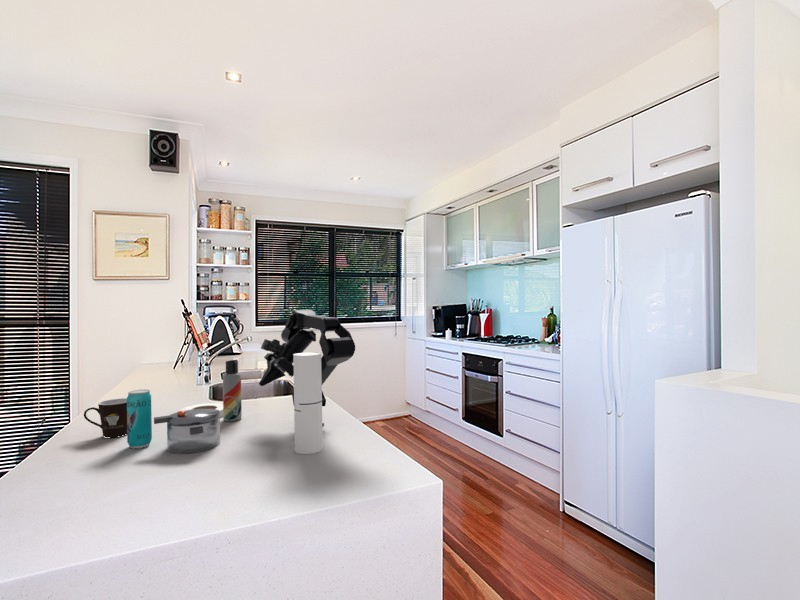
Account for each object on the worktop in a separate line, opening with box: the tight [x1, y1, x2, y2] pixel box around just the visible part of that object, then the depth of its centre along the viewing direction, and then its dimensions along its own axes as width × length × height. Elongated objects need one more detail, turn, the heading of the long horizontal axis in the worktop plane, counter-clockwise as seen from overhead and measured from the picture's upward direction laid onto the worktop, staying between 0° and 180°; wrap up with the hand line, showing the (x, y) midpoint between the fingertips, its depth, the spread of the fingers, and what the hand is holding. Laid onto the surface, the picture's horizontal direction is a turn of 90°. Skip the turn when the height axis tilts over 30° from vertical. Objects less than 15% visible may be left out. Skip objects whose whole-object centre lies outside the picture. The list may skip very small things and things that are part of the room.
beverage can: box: [126, 389, 153, 450], centre depth 119 cm, size 6×6×15 cm
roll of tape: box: [179, 402, 223, 418], centre depth 152 cm, size 16×15×3 cm
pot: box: [166, 417, 221, 455], centre depth 119 cm, size 13×18×7 cm
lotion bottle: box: [222, 359, 243, 422], centre depth 145 cm, size 6×6×20 cm
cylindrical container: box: [293, 351, 324, 455], centre depth 114 cm, size 7×7×25 cm
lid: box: [153, 409, 221, 426], centre depth 118 cm, size 16×13×2 cm
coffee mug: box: [83, 397, 127, 438], centre depth 130 cm, size 12×9×10 cm
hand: (260, 385), depth 133 cm, fingers closed
